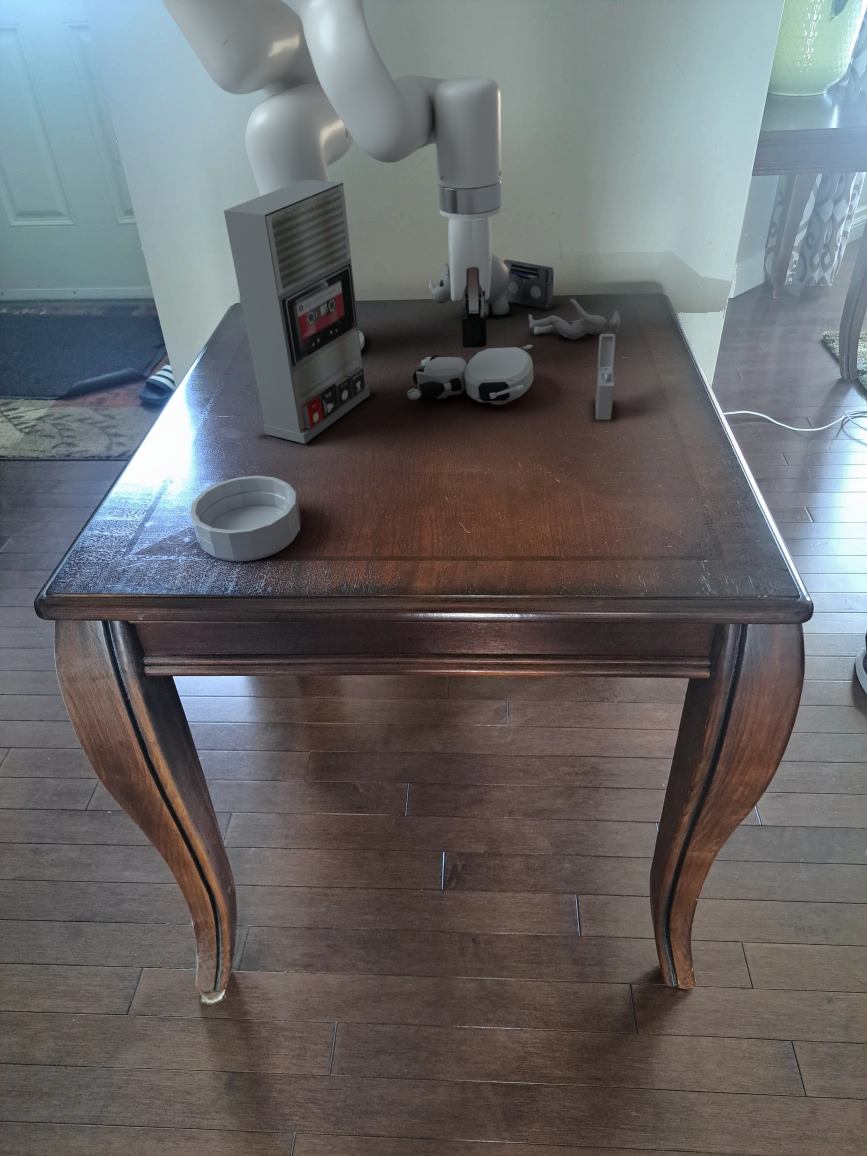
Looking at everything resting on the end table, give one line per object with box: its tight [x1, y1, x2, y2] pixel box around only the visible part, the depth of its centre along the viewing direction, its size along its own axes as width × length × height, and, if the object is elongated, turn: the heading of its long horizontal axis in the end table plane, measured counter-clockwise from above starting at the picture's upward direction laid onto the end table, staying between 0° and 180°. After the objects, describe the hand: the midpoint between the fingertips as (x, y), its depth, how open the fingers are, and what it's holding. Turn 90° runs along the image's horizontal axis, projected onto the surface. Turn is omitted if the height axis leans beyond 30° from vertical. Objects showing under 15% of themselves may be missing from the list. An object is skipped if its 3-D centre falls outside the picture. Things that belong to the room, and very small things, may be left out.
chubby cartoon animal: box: [428, 254, 510, 317], centre depth 123 cm, size 7×12×8 cm, turn 97°
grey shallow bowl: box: [189, 475, 302, 562], centre depth 81 cm, size 10×10×4 cm
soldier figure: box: [527, 298, 621, 340], centre depth 115 cm, size 8×5×12 cm
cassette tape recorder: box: [223, 179, 371, 445], centre depth 93 cm, size 14×6×25 cm, turn 151°
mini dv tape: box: [502, 258, 555, 311], centre depth 126 cm, size 8×2×6 cm, turn 52°
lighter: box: [595, 333, 616, 421], centre depth 97 cm, size 7×2×8 cm, turn 172°
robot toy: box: [406, 344, 535, 406], centre depth 102 cm, size 12×4×15 cm
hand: (474, 344), depth 110 cm, fingers closed
